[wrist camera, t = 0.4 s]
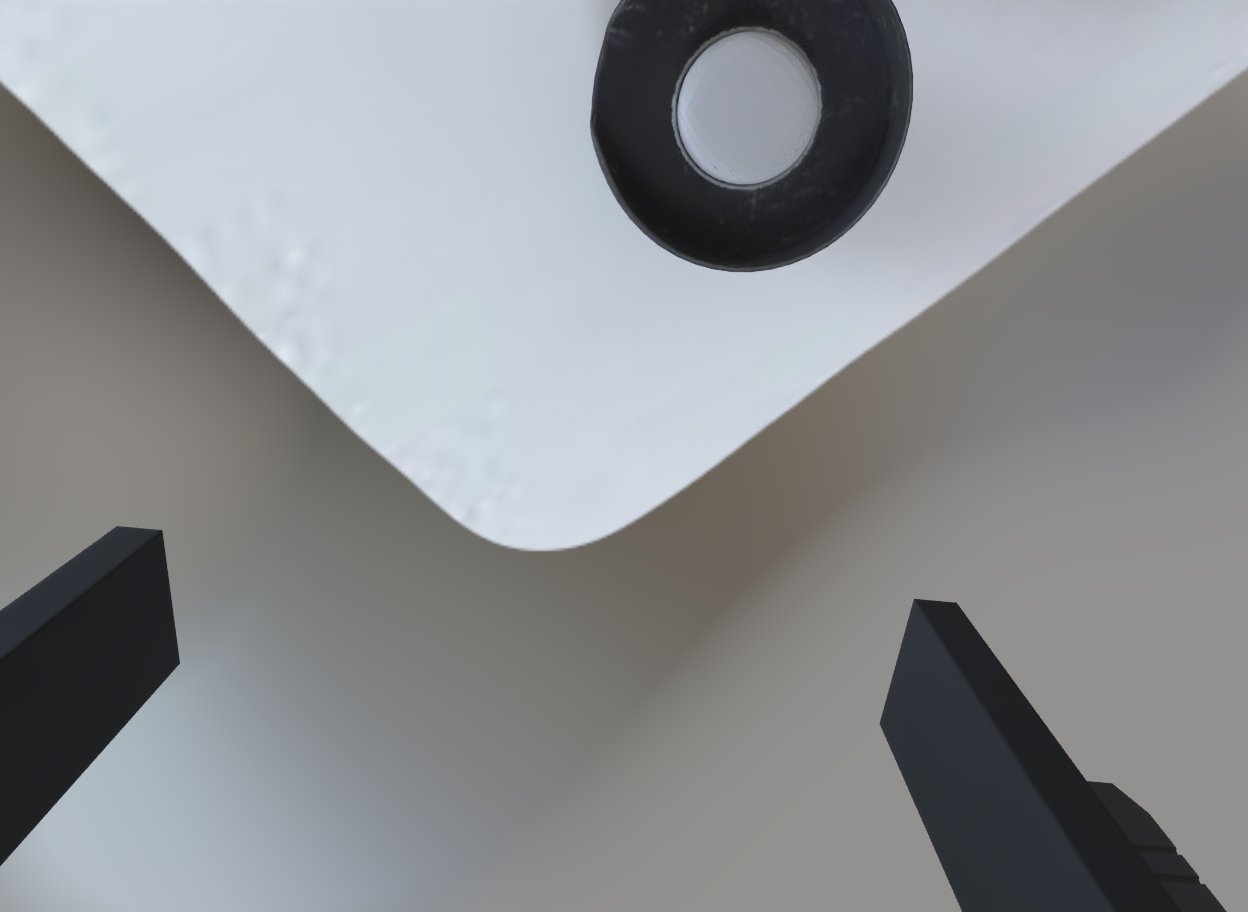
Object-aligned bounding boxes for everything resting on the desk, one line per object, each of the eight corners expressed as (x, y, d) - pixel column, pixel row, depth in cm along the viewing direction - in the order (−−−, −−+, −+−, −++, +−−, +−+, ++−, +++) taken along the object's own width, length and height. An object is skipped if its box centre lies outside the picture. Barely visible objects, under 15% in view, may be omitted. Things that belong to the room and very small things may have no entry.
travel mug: (800, 160, 37) (976, 159, 18) (664, 251, 38) (697, 337, 20) (717, 8, 34) (821, -175, 16) (577, 111, 36) (519, 56, 17)
